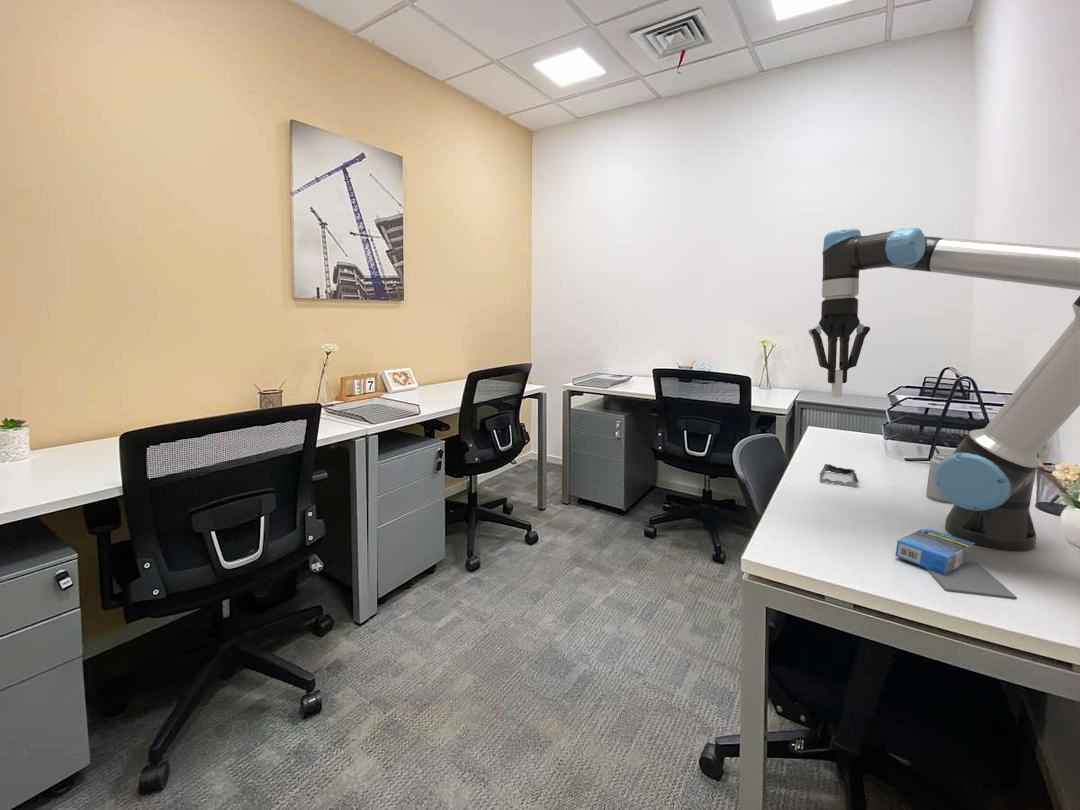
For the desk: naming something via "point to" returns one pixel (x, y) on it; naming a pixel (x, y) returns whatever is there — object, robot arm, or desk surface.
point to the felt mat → (972, 581)
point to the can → (931, 485)
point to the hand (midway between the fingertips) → (836, 396)
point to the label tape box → (933, 550)
